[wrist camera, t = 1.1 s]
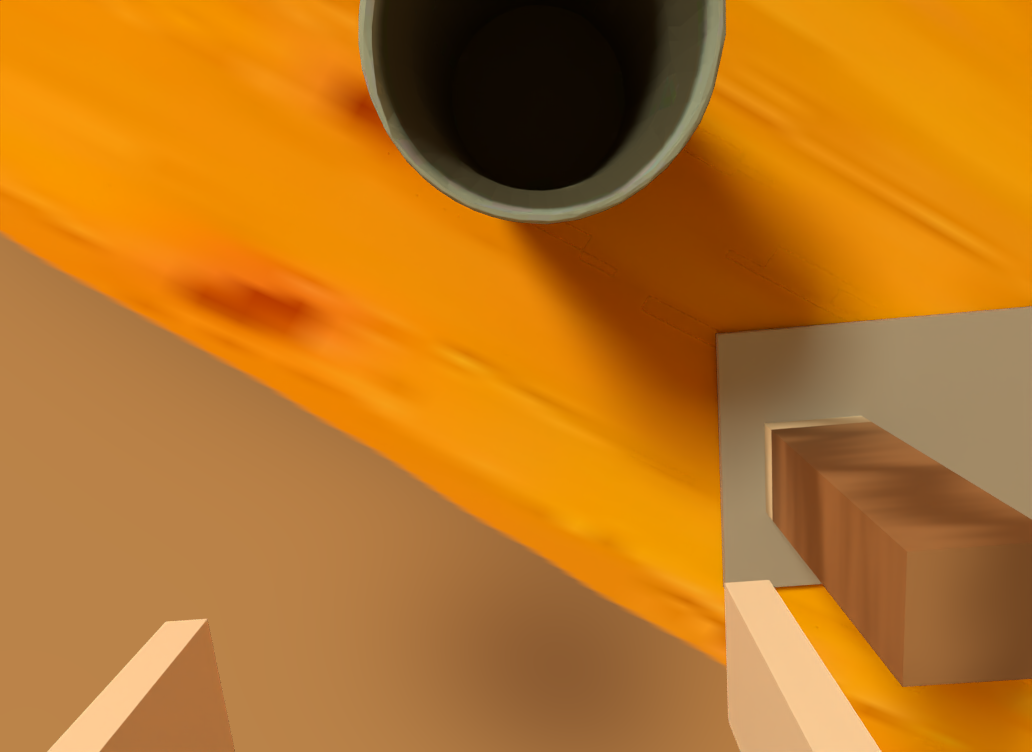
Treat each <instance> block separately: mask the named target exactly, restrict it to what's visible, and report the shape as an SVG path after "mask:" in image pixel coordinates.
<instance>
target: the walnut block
mask: <svg viewBox="0 0 1032 752" xmlns="http://www.w3.org/2000/svg"><path fill="white" fill-rule="evenodd" d="M764 431H765V497H766V513H767V514H768V515H769V517H770V518H771V519H772V520H773V522H774V523H775V524H776V526H777V527H778V528H779V529H780V531H781V532H782V533H783V535H784V536H785V537H786V538H787V540H788V541H789V542H790V543H791V545H792V546H793V547H794V549H795V550H796V551H797V552H798V554H799V555H800V556H801V558H802V559H803V560H804V561H805V563H806V564H807V565H808V566H809V568H810V569H811V570H812V572H813V573H814V574H815V575H816V577H817V578H818V579H819V581H820V582H821V583H822V584H823V586H824V587H825V588H826V589H827V591H828V592H829V593H830V595H831V596H832V597H833V598H834V600H835V601H836V602H837V604H838V605H839V606H840V607H841V609H842V610H843V611H844V613H845V614H846V615H847V616H848V618H849V619H850V620H851V621H852V623H853V624H854V625H855V627H856V628H857V629H858V630H859V632H860V633H861V634H862V636H863V637H864V638H865V639H866V641H867V642H868V643H869V644H870V646H871V647H872V648H873V650H874V651H875V652H876V653H877V655H878V656H879V657H880V659H881V660H882V661H883V662H884V664H885V665H886V666H887V667H888V669H889V670H890V671H891V673H892V674H893V675H894V676H895V678H896V679H897V680H898V682H899V683H900V684H901V685H902V687H907V686H923V685H939V684H955V683H971V682H987V681H1002V680H1018V679H1032V519H1030V518H1028V517H1027V516H1025V515H1024V514H1022V513H1020V512H1019V511H1017V510H1015V509H1014V508H1012V507H1010V506H1009V505H1007V504H1005V503H1004V502H1002V501H1001V500H999V499H997V498H996V497H994V496H992V495H991V494H989V493H987V492H986V491H984V490H983V489H981V488H979V487H978V486H976V485H974V484H973V483H971V482H969V481H968V480H966V479H964V478H963V477H961V476H960V475H958V474H956V473H955V472H953V471H951V470H950V469H948V468H946V467H945V466H943V465H942V464H940V463H938V462H937V461H935V460H933V459H932V458H930V457H928V456H927V455H925V454H923V453H922V452H920V451H919V450H917V449H915V448H914V447H912V446H910V445H909V444H907V443H905V442H904V441H902V440H901V439H899V438H897V437H896V436H894V435H892V434H891V433H889V432H887V431H886V430H884V429H882V428H881V427H879V426H878V425H876V424H874V423H873V422H871V421H869V420H868V419H866V418H864V417H863V416H850V417H838V418H825V419H813V420H800V421H788V422H775V423H764Z"/></svg>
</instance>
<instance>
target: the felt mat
mask: <svg viewBox="0 0 1032 752" xmlns="http://www.w3.org/2000/svg"><path fill="white" fill-rule="evenodd" d="M716 355H717V388H718V422H719V455H720V488H721V521H722V554H723V587H724V589H725V585H724V583H731V582H745V581H759V580H770V582H771V583H772V585H773V586H774V587H785V586H799V585H813V584H822V583H821V582H820V581H819V579H818V578H817V577H816V575H815V574H814V573H813V572H812V570H811V569H810V568H809V566H808V565H807V564H806V563H805V561H804V560H803V559H802V558H801V556H800V555H799V554H798V552H797V551H796V550H795V549H794V547H793V546H792V545H791V543H790V542H789V541H788V540H787V538H786V537H785V536H784V535H783V533H782V532H781V531H780V529H779V528H778V527H777V526H776V524H775V523H774V522H773V520H772V519H771V518H770V517H769V515H768V514H767V513H766V497H765V431H764V423H775V422H788V421H800V420H813V419H825V418H838V417H850V416H863V417H864V418H866V419H868V420H869V421H871V422H873V423H874V424H876V425H878V426H879V427H881V428H882V429H884V430H886V431H887V432H889V433H891V434H892V435H894V436H896V437H897V438H899V439H901V440H902V441H904V442H905V443H907V444H909V445H910V446H912V447H914V448H915V449H917V450H919V451H920V452H922V453H923V454H925V455H927V456H928V457H930V458H932V459H933V460H935V461H937V462H938V463H940V464H942V465H943V466H945V467H946V468H948V469H950V470H951V471H953V472H955V473H956V474H958V475H960V476H961V477H963V478H964V479H966V480H968V481H969V482H971V483H973V484H974V485H976V486H978V487H979V488H981V489H983V490H984V491H986V492H987V493H989V494H991V495H992V496H994V497H996V498H997V499H999V500H1001V501H1002V502H1004V503H1005V504H1007V505H1009V506H1010V507H1012V508H1014V509H1015V510H1017V511H1019V512H1020V513H1022V514H1024V515H1025V516H1027V517H1028V518H1030V519H1032V306H1031V307H1020V308H1008V309H996V310H985V311H973V312H962V313H950V314H938V315H927V316H915V317H904V318H892V319H881V320H869V321H857V322H846V323H834V324H823V325H811V326H799V327H788V328H776V329H765V330H753V331H741V332H730V333H718V334H716Z"/></svg>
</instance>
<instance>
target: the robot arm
mask: <svg viewBox="0 0 1032 752" xmlns="http://www.w3.org/2000/svg"><path fill="white" fill-rule="evenodd" d="M724 585H725V621H726V656H727V690H728V691H727V692H728V721H729V724H730V726H731V729H732V731H733V734H734V736H735V739H736V742H737V744H738V747H739V750H740V752H881V750H880V749H879V747H878V746H877V744H876V743H875V741H874V740H873V738H872V737H871V735H870V733H869V732H868V730H867V729H866V727H865V726H864V724H863V723H862V721H861V720H860V718H859V717H858V715H857V714H856V712H855V711H854V709H853V707H852V706H851V704H850V703H849V701H848V700H847V698H846V697H845V695H844V694H843V692H842V691H841V689H840V688H839V686H838V684H837V683H836V681H835V680H834V678H833V677H832V675H831V674H830V672H829V671H828V669H827V668H826V666H825V665H824V663H823V661H822V660H821V658H820V657H819V655H818V654H817V652H816V651H815V649H814V648H813V646H812V645H811V643H810V642H809V640H808V639H807V637H806V635H805V634H804V632H803V631H802V629H801V628H800V626H799V625H798V623H797V622H796V620H795V619H794V617H793V616H792V614H791V612H790V611H789V609H788V608H787V606H786V605H785V603H784V602H783V600H782V599H781V597H780V596H779V594H778V593H777V591H776V589H775V588H774V586H773V585H772V583H771V582H770V580H759V581H745V582H731V583H724ZM234 751H235V749H234V745H233V740H232V735H231V731H230V725H229V720H228V716H227V711H226V706H225V701H224V697H223V691H222V687H221V682H220V677H219V672H218V667H217V663H216V658H215V653H214V648H213V644H212V639H211V634H210V629H209V624H208V619H198V620H183V621H169V622H165V623H164V624H163V626H161V628H160V629H159V630H158V631H157V632H156V633H155V634H154V635H153V636H152V637H151V638H150V640H149V641H148V642H147V643H146V644H145V645H144V646H143V647H142V648H141V649H140V650H139V652H138V653H137V654H136V655H135V656H134V657H133V658H132V659H131V660H130V661H129V663H128V664H127V665H126V666H125V667H124V668H123V669H122V670H121V671H120V672H119V674H118V675H117V676H116V677H115V678H114V679H113V680H112V681H111V682H110V684H109V685H108V686H107V687H106V688H105V689H104V690H103V691H102V692H101V693H100V694H99V696H98V697H97V698H96V699H95V700H94V701H93V702H92V703H91V705H89V706H88V708H87V709H86V710H85V711H84V712H83V713H82V714H81V715H80V716H79V718H78V719H77V720H76V721H75V722H74V723H73V724H72V725H71V726H70V727H69V728H68V730H67V731H66V732H65V733H64V734H63V735H62V736H61V737H60V738H59V740H58V741H57V742H56V743H55V744H54V745H53V746H52V747H51V748H50V749H49V750H48V751H47V752H234Z"/></svg>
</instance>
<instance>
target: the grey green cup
mask: <svg viewBox="0 0 1032 752" xmlns="http://www.w3.org/2000/svg"><path fill="white" fill-rule="evenodd" d="M725 35H726V7H725V0H360V9H359V50H360V57H361V64H362V71H363V74H364V77H365V81H366V84H367V87H368V91H369V94H370V97H371V100H372V102H373V104H374V106H375V109H376V111H377V113H378V115H379V117H380V119H381V122H382V124H383V126H384V128H385V130H386V132H387V133H388V135H389V137H390V138H391V140H392V141H393V143H394V144H395V145H396V147H397V148H398V150H399V151H400V152H401V154H402V155H403V157H404V158H405V159H406V161H407V162H408V163H409V164H410V165H411V166H412V167H413V168H414V169H415V170H416V171H417V172H418V173H419V174H420V175H421V176H422V177H423V178H424V179H425V180H426V181H427V182H429V183H430V184H431V185H432V186H434V187H435V188H436V189H437V190H439V191H440V192H442V193H443V194H445V195H446V196H448V197H450V198H451V199H453V200H454V201H456V202H458V203H460V204H462V205H464V206H466V207H468V208H470V209H472V210H474V211H477V212H480V213H483V214H485V215H488V216H491V217H495V218H499V219H503V220H508V221H514V222H521V223H536V224H551V223H558V222H565V221H572V220H578V219H581V218H585V217H588V216H591V215H594V214H597V213H600V212H603V211H605V210H607V209H609V208H611V207H613V206H616V205H618V204H620V203H622V202H623V201H625V200H626V199H628V198H630V197H631V196H633V195H634V194H636V193H637V192H639V191H640V190H642V189H643V188H644V187H646V186H647V185H648V184H649V183H650V182H651V181H652V180H654V179H655V178H656V177H657V176H658V175H659V174H660V173H661V172H663V171H664V170H665V169H666V168H667V167H668V166H669V165H670V163H671V162H672V161H673V160H674V159H675V157H676V156H677V155H678V154H679V153H680V151H681V150H682V149H683V148H684V147H685V145H686V144H687V142H688V141H689V139H690V138H691V136H692V134H693V133H694V131H695V130H696V128H697V127H698V125H699V124H700V122H701V120H702V117H703V115H704V113H705V111H706V108H707V106H708V104H709V101H710V98H711V95H712V92H713V89H714V86H715V82H716V77H717V72H718V68H719V63H720V59H721V54H722V50H723V45H724V40H725Z"/></svg>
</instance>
